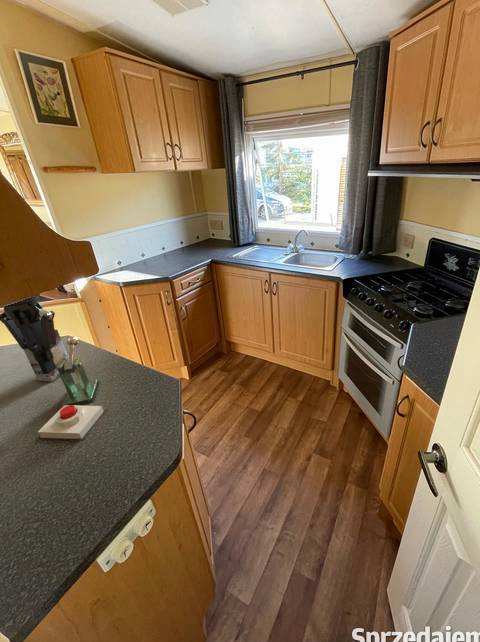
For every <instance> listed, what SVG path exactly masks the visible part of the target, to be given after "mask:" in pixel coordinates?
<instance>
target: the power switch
mask: <svg viewBox="0 0 480 642" xmlns="http://www.w3.org/2000/svg"><path fill="white" fill-rule="evenodd" d="M72 366H73V369H74V371H75V372H74V373H75V376H76V378H77V380H78V383H75V381H74V378H73V376H72V373H69V374H67V373H66V371H65V370H64V367H65V360H61V362H60V363H59V365H58V367H57V370H58V372H59V374H60V376H59V377H60V378H61V381H62V383H63V386H64V388H65V389H66V392H67V394H66V395H65V397H64V400H63V402H62V407H63V406H64V405H80V406H81V405H85V404H88V403H92V402H93V401H94V399H95V395H96V391H97V389H98V386H99V380H98V379H92V380H89V378H88V376H87V372H86V370H85V368H84V365H83V363H82V361H81V358H80V357H79V356H76V357H74V362H73V364H72Z"/></svg>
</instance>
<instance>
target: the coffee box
mask: <svg viewBox="0 0 480 642" xmlns="http://www.w3.org/2000/svg"><path fill="white" fill-rule="evenodd" d="M55 336H56V343H57V344H56V345H55V346H53V347H52V348H50V349H51V352H52V354H53V356H54V359H53V361H54V363H55V365H56V369H55V370H53V371H52V372H51V373H50V374H43V372H42V370H41V368H40V365H39V363H38V362H37V361H36V360H35V358H34V355H33V353H32V352H31V351H29V349H25V350H24V349H22V350H23V351H24V354H25V356H26V358H27V360H28V363H29V364H30V367H31V369H32V371H33V373H34V375H35V378H36V380H37V381H40V382H41V381H42V382H54V381H55V380H57V378H59V377H61V376H60V374H59V372H58V370H57V367H58V365H59V363H60V362H61V360H65V362H68V359H69V354H68V353H67V350H66V348H65V345H64V342H63V340H62V338H61V336H60V333H59V331H58V329H55ZM25 343H26V342H25Z"/></svg>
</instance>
